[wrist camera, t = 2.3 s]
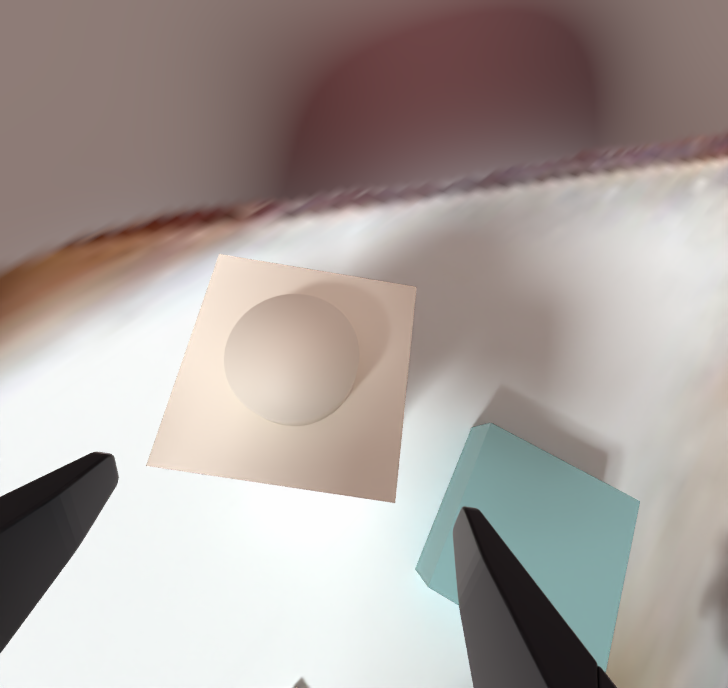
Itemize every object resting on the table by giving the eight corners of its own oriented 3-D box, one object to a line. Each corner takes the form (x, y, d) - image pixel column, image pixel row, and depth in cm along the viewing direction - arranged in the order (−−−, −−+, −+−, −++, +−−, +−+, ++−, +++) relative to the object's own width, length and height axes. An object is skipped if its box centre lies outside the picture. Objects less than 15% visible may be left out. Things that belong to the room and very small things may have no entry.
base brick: (557, 651, 17) (601, 689, 14) (413, 566, 17) (428, 587, 15) (595, 495, 19) (639, 501, 16) (469, 428, 20) (490, 422, 17)
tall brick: (355, 475, 18) (403, 508, 5) (274, 463, 18) (118, 466, 5) (367, 395, 20) (425, 267, 7) (292, 383, 20) (205, 230, 7)
